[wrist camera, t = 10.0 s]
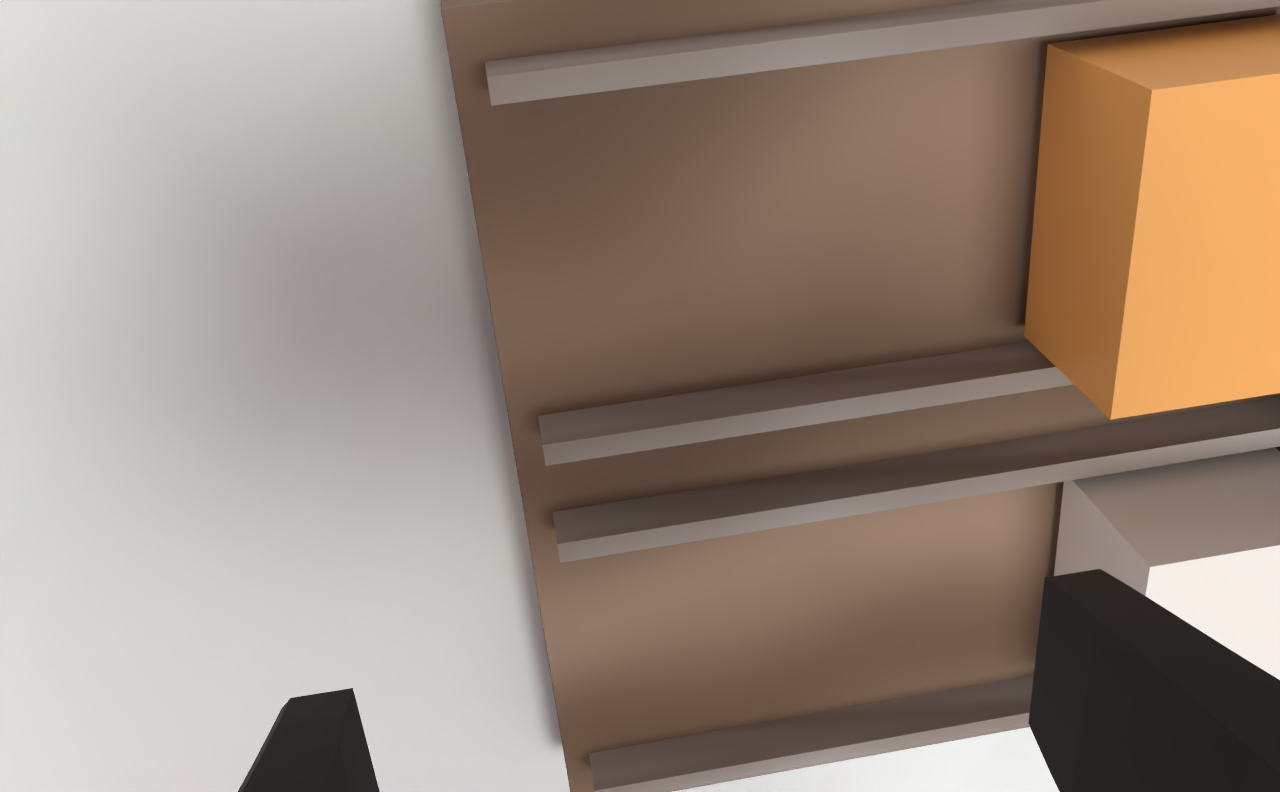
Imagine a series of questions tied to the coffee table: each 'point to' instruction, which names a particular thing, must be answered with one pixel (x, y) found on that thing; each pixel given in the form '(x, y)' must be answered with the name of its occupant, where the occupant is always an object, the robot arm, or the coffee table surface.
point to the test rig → (786, 364)
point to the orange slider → (1160, 216)
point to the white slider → (1188, 543)
